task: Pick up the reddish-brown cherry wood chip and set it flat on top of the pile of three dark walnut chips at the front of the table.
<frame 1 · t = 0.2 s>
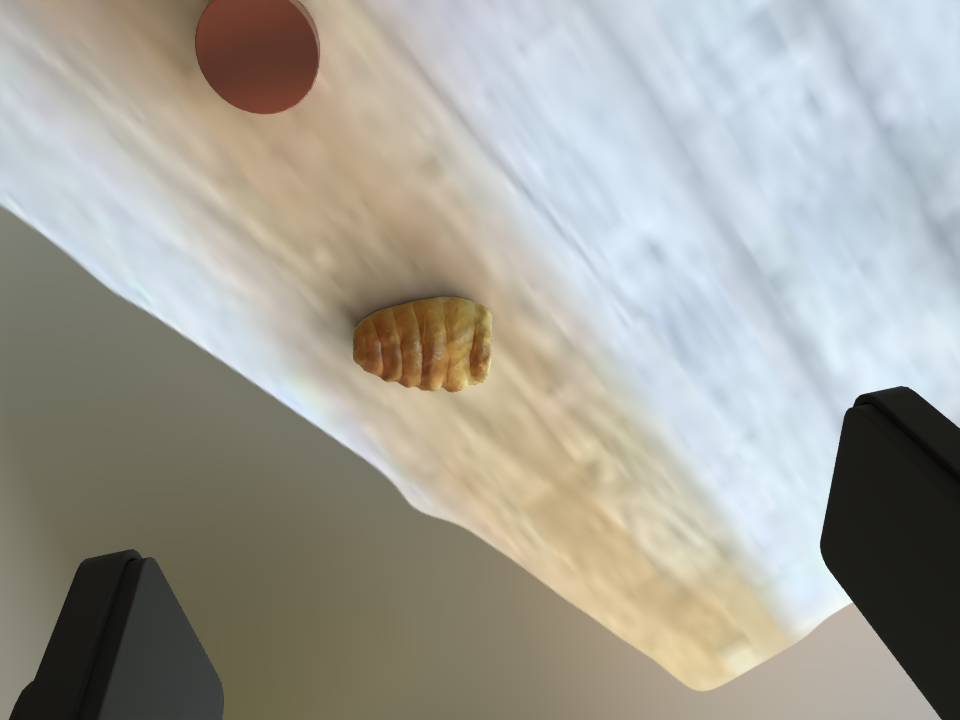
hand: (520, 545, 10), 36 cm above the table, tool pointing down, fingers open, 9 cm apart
pastry: (430, 335, 50), on the table
cherry chip: (263, 43, 39), on the table
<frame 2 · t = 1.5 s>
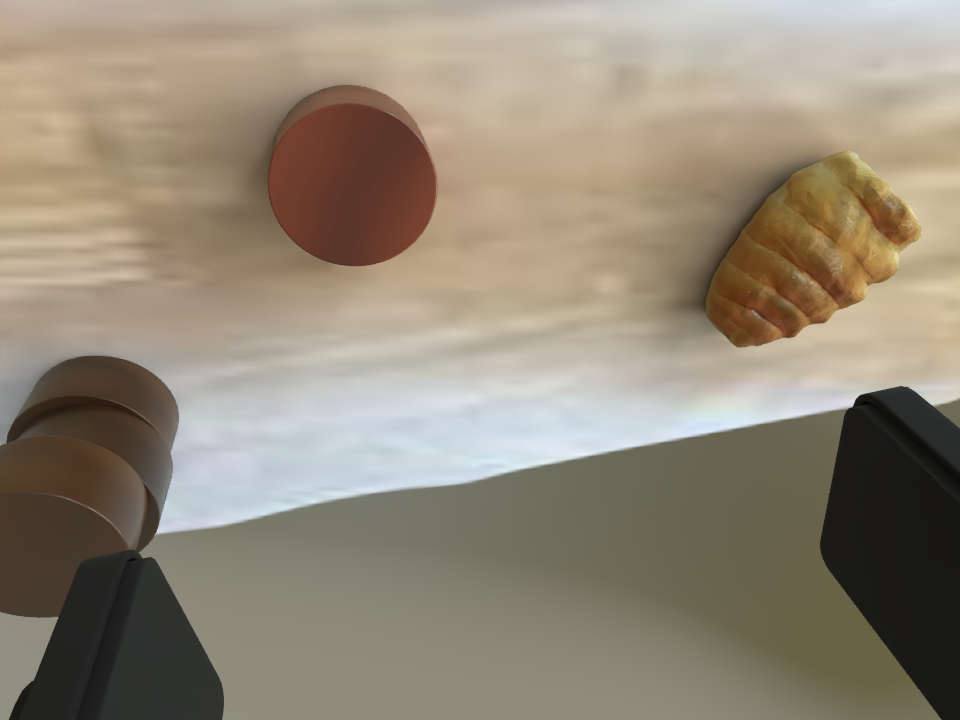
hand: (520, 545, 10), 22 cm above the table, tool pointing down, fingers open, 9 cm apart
walnut pile: (107, 412, 32), on the table
pastry: (796, 240, 34), on the table
cherry chip: (351, 165, 28), on the table
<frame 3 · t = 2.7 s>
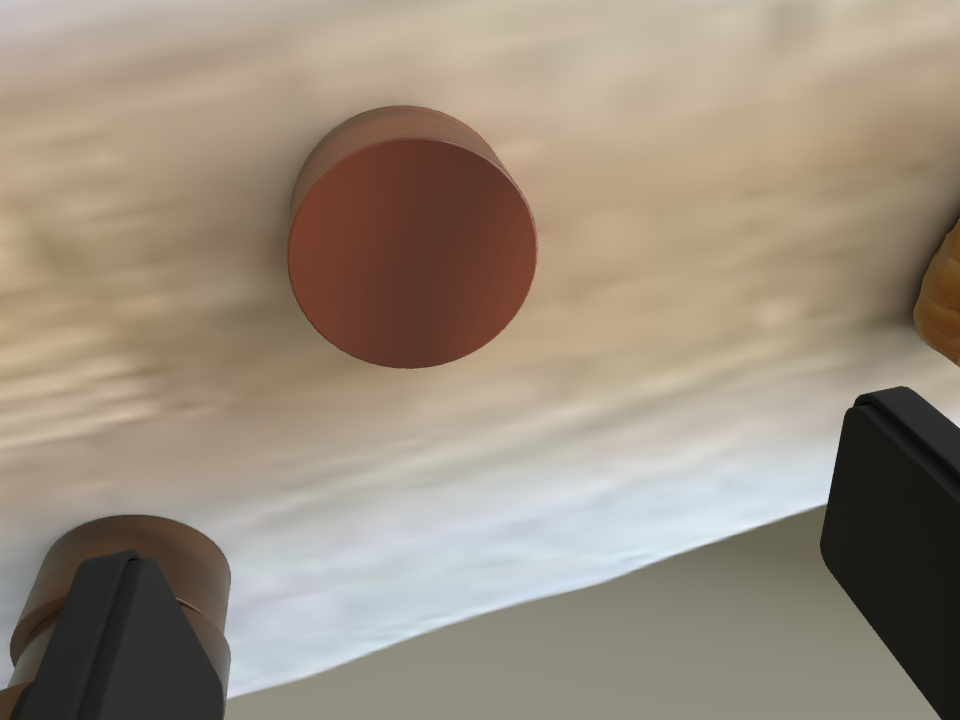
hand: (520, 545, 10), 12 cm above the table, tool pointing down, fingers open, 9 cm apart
walnut pile: (139, 578, 25), on the table
cherry chip: (404, 218, 20), on the table
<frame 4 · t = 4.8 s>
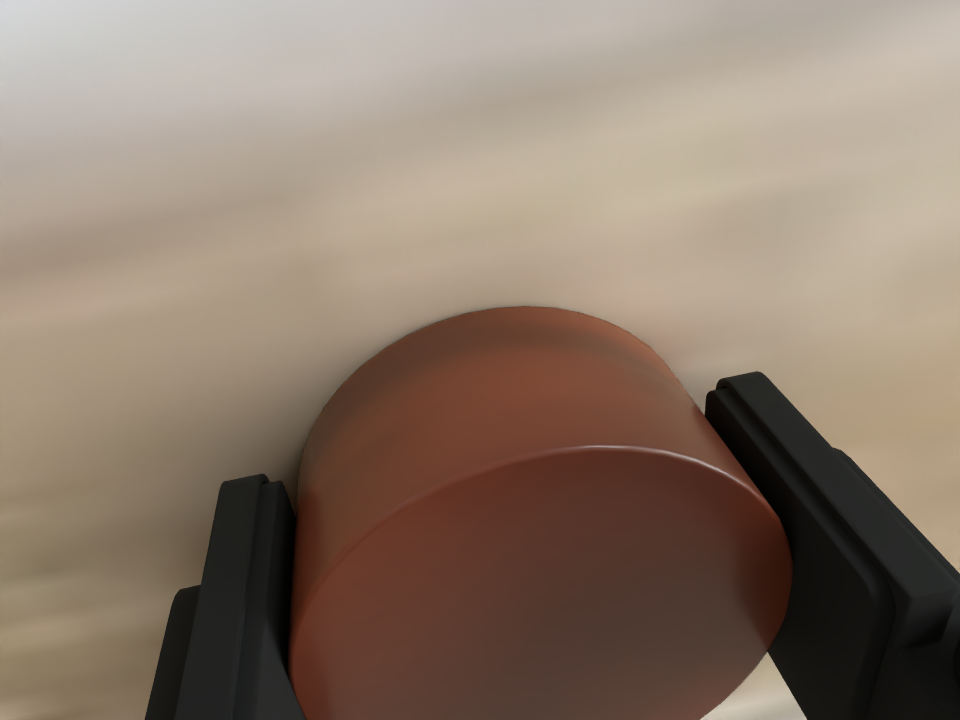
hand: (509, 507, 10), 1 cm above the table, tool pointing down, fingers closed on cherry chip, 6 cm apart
cherry chip: (502, 480, 11), on the table, touching gripper
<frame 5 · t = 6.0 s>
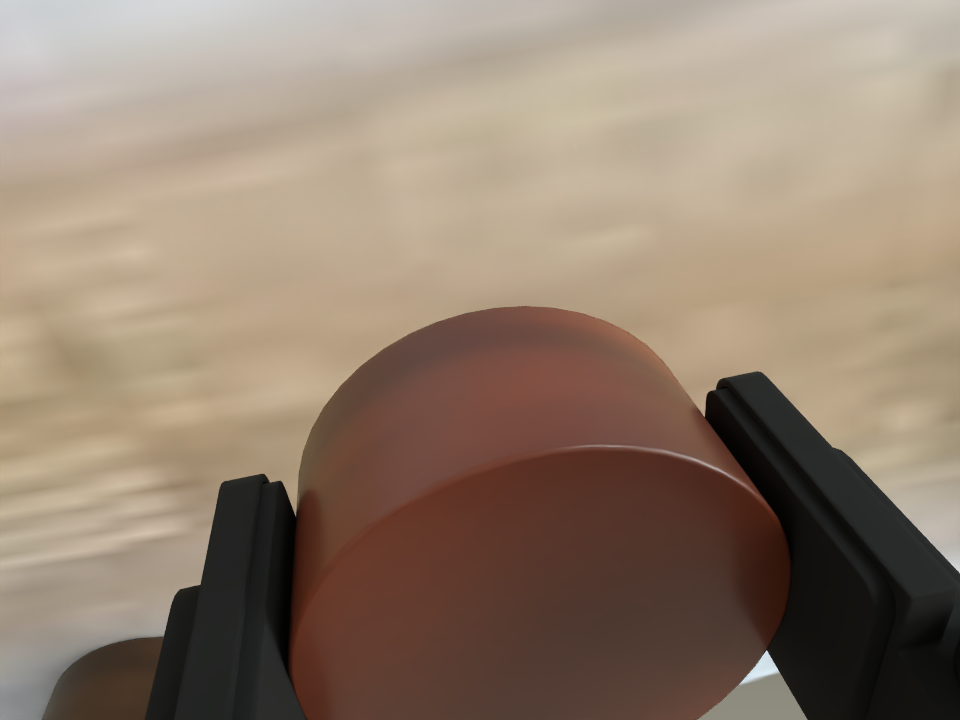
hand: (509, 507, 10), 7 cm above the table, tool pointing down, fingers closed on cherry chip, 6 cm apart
walnut pile: (162, 703, 22), on the table
cherry chip: (501, 480, 11), point 6 cm above the table, touching gripper
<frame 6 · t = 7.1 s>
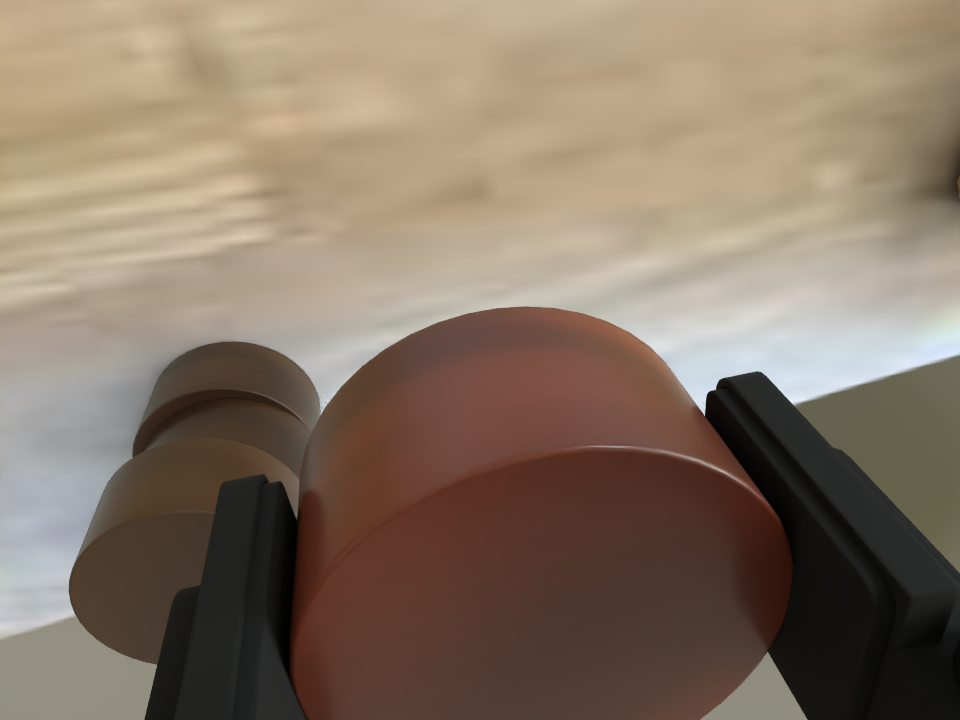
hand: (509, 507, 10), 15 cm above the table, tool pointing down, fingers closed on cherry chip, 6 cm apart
walnut pile: (238, 410, 27), on the table
cherry chip: (502, 480, 11), point 15 cm above the table, touching gripper
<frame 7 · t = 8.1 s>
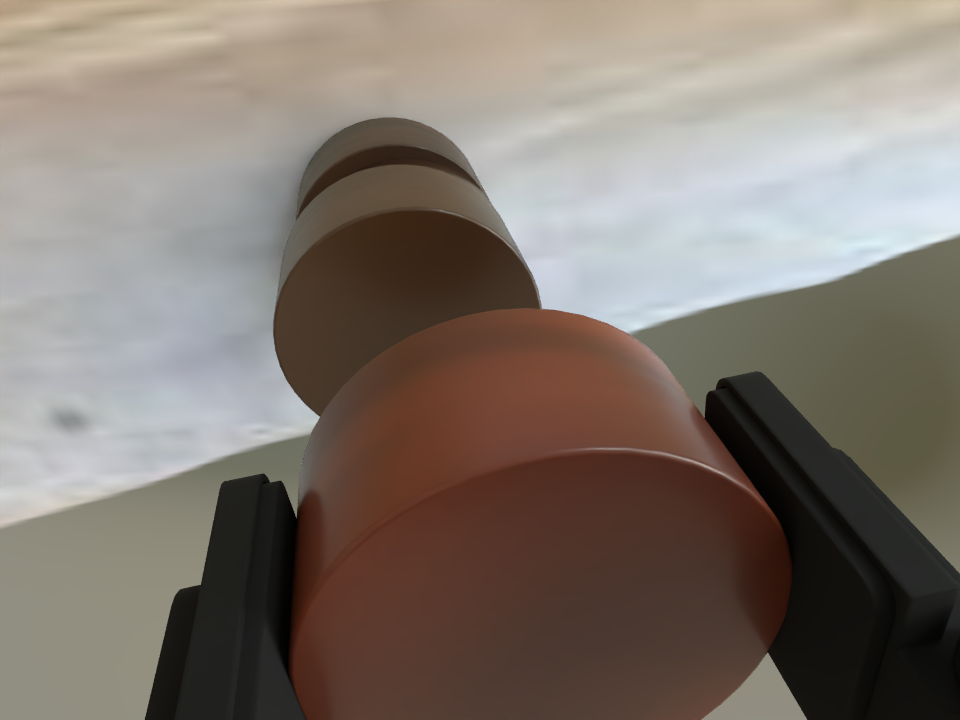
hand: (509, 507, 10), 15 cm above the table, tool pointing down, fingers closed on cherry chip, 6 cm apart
walnut pile: (391, 210, 24), on the table
cherry chip: (502, 482, 11), point 15 cm above the table, touching gripper
when the fingers open (10 cm above the table, at t = 10.3 s): cherry chip stays where it is, resting on walnut pile.
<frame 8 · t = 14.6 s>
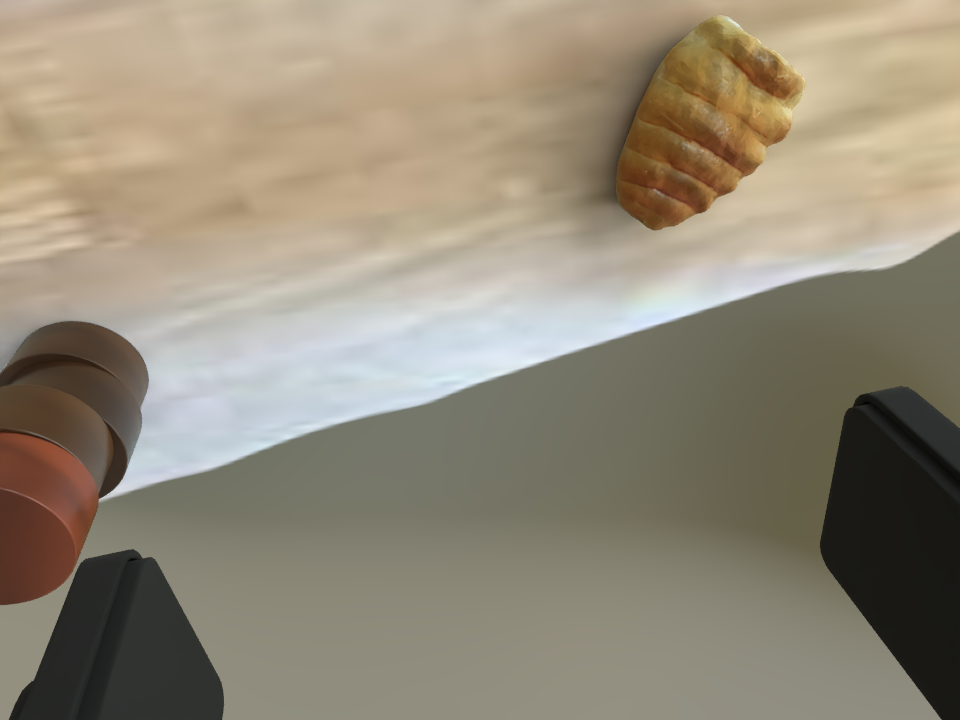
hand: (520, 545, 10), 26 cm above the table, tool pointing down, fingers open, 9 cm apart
walnut pile: (84, 373, 36), on the table, touching cherry chip
pastry: (695, 116, 35), on the table
cherry chip: (15, 492, 28), point 9 cm above the table, touching walnut pile
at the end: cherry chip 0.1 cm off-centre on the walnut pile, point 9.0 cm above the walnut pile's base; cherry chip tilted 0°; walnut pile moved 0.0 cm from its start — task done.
